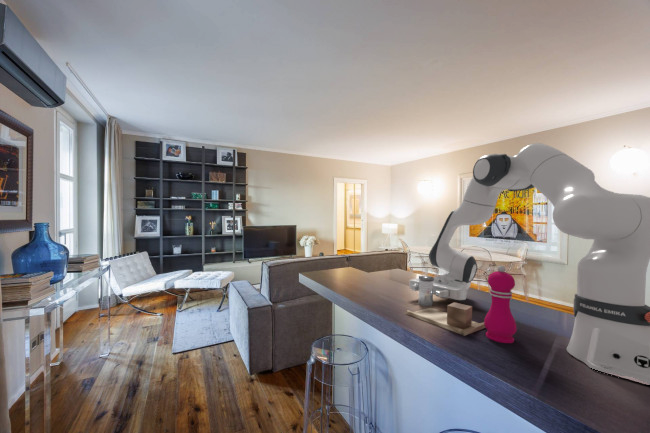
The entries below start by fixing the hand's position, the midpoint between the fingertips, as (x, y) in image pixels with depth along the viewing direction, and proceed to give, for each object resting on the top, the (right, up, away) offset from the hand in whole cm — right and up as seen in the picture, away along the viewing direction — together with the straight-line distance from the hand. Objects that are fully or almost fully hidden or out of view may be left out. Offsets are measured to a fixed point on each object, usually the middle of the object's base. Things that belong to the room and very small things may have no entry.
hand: (425, 291), depth 99 cm
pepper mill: (+10, -6, -27) cm, 29 cm away
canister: (0, -6, 0) cm, 6 cm away
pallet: (+1, -6, -15) cm, 16 cm away
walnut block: (+2, -5, -21) cm, 21 cm away
